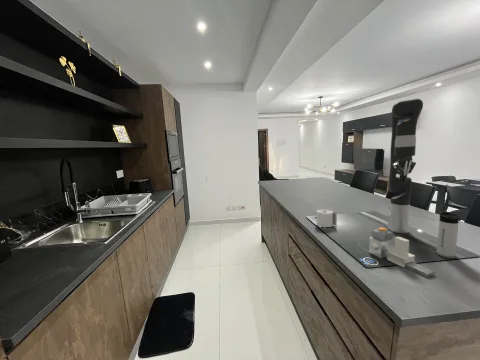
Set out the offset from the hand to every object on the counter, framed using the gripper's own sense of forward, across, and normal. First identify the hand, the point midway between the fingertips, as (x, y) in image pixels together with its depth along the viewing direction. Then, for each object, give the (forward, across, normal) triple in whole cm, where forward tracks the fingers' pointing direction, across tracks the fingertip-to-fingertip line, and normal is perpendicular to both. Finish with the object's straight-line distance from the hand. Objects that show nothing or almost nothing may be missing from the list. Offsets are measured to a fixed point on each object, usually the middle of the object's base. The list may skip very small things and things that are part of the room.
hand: (402, 182), depth 96 cm
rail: (+35, +8, +9) cm, 37 cm away
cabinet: (+35, +8, -3) cm, 36 cm away
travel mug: (+35, -16, +10) cm, 40 cm away
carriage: (+35, +8, +6) cm, 36 cm away
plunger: (+27, +8, -3) cm, 28 cm away
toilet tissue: (+35, +6, -44) cm, 57 cm away
